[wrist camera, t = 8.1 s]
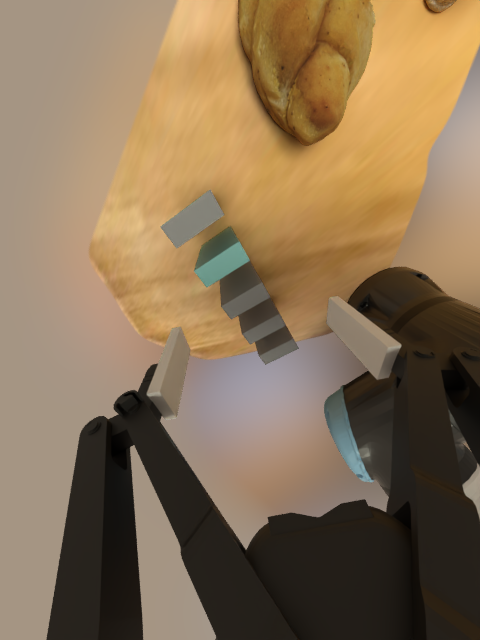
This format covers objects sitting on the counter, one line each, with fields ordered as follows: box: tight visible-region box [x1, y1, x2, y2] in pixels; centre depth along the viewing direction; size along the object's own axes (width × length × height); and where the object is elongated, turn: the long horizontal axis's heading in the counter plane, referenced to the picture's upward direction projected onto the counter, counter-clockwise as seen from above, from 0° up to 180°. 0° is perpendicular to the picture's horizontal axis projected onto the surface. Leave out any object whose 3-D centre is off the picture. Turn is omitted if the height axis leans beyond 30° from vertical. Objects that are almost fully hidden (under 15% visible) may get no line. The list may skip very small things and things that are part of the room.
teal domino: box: [194, 226, 250, 287], centre depth 22 cm, size 2×5×12 cm, turn 120°
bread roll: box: [238, 0, 375, 146], centre depth 16 cm, size 13×10×8 cm
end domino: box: [161, 190, 224, 248], centre depth 20 cm, size 2×5×12 cm, turn 121°
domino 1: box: [220, 261, 270, 319], centre depth 25 cm, size 2×5×12 cm, turn 120°
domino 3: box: [255, 326, 298, 365], centre depth 29 cm, size 2×5×12 cm, turn 121°
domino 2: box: [238, 298, 286, 344], centre depth 27 cm, size 2×5×12 cm, turn 121°
